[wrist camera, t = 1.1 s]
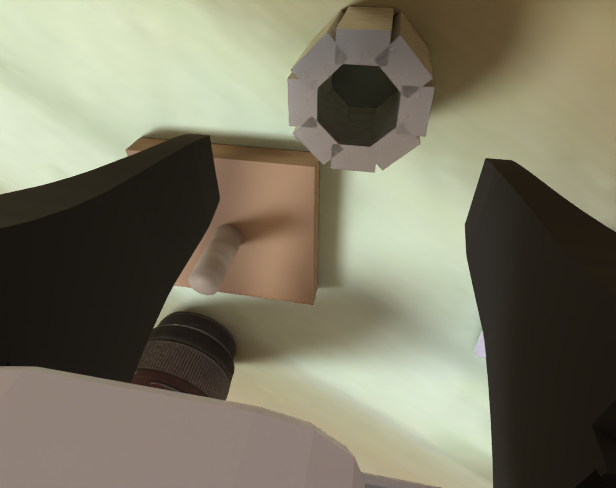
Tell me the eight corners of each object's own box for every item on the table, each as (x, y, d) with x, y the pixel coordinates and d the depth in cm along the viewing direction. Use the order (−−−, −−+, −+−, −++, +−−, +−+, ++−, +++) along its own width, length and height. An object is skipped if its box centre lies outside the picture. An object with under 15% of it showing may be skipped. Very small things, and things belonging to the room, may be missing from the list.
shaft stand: (319, 152, 21) (297, 214, 16) (317, 288, 27) (301, 357, 23) (140, 137, 22) (78, 190, 18) (178, 269, 28) (139, 331, 24)
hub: (437, 9, 16) (445, 33, 13) (415, 133, 19) (417, 176, 16) (307, 4, 16) (285, 26, 13) (308, 125, 20) (290, 164, 17)
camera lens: (132, 309, 32) (-18, 518, 21) (219, 300, 30) (104, 534, 18) (178, 370, 37) (75, 572, 25) (257, 368, 34) (184, 591, 23)
